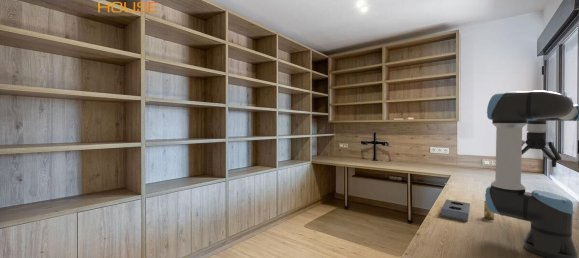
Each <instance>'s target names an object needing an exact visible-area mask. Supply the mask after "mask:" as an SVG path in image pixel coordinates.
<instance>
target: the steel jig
mask: <svg viewBox="0 0 579 258" xmlns="http://www.w3.org/2000/svg"><path fill="white" fill-rule="evenodd" d="M440 211H441V212H440V213H441V214H440V217H442V218H447V219H453V220H456V221H462V222H466V223H468V222H469V218H470V217H469V216H470V211H471V203H468V202H464V201H458V200H451V199H445V201H444V203H443V205H442V207H441V210H440Z"/></svg>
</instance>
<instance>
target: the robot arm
mask: <svg viewBox="0 0 579 258" xmlns="http://www.w3.org/2000/svg"><path fill="white" fill-rule="evenodd" d="M486 109H487V110H486V114H487V115H486V117H487V118H488V120H491V124H492V125H493V126H495V131H496V134H495V139H496V141H495V177H494V178H495V179H494V181H492V182H491V183H490V186H487V187H486V189H485V195H484V198H485V200H484V201H486V205H487V207H488V209H489V210H490V211H491V212H493V213H494V214H497V215H500V216H502V217H508V218H513V219H517V220H520V221H525V222H529V223H530V229H529V231H528V233H527V234H526V236H525V239H524V240H523V247H524V248H525V250H527V251H529V252H530V253H533V254H535V255H538V256H540V257H543V258H579V253H578V250H577V247H576V245H575V242H574V240H573V220H574V219H573V215H574V214H575V213H574V212H575V211H574V203H573V201H572V200H570V199H569V198H567V197H565V196H563V195H560V194H556V193H553V192H549V191H544V190H543V191H542V190H532V191H531V193H530V192H526V186H525V185H523V184H522V163H523V161H522V159H523V158H522V157H523V155H524V154H525V153H526V152H528V151H529V150H530V149H531V150H541V151H542V152H543V153H544V154H545V155H546V156H547V157H548V158H549V159H550V160H549V165H548V166H549V168H548V173H549V174H554V170H555V168H556V167H557V161H561V160H563V159H562V157H561V155H560V154H559V152H558V150H557V148H556V146H555V144H554V141H547V140H546V137H547V135H546V133H545V132H546V131H547V122H549V121H551V122H552V121H554V122H555V121H559V122H561V121H564V122H566V121H567V122H568V121H569V122H571V121H572V122H576V121H577V122H578V121H579V104H574V103H573V100H572V99H571V98H570V97H568V96H567V95H565V94H562V93H558V92H554V91H550V90H548V91H547V90H529V91H528V90H527V91H510V92H509V91H508V92H506V91H505V92H499V93H495V94H492V96H491V97H490V100H489V101H488V105H487V108H486ZM525 126H526V131H527V132H526V140H523V128H524V127H525ZM524 145H526V146H525V147H523V146H524ZM546 145H547V146H548V148H549V149H550V151H549V150H548V149H547V148H546ZM551 152H552V153H551Z"/></svg>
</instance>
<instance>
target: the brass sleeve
mask: <svg viewBox="0 0 579 258" xmlns="http://www.w3.org/2000/svg"><path fill="white" fill-rule="evenodd" d="M483 218H484V219H487V220H490V221H491V220H495V213H493V212H491V211H490V210H489V209H488V207H487V205H486V200H484V209H483Z"/></svg>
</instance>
